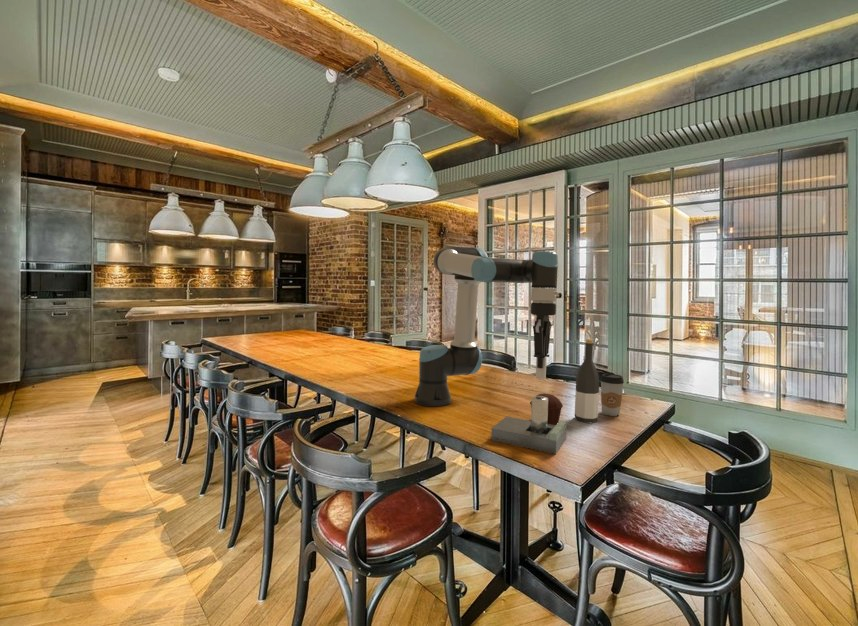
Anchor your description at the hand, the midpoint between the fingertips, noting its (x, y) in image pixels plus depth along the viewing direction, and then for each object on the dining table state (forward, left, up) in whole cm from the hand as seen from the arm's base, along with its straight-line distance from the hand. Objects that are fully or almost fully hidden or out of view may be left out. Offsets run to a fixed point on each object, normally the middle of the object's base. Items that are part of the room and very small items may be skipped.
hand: (540, 377), depth 128 cm
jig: (-3, 0, -20) cm, 21 cm away
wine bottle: (+9, +32, -21) cm, 39 cm away
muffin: (-3, +21, -21) cm, 30 cm away
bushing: (0, 0, -20) cm, 20 cm away
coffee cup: (+16, +45, -21) cm, 52 cm away
